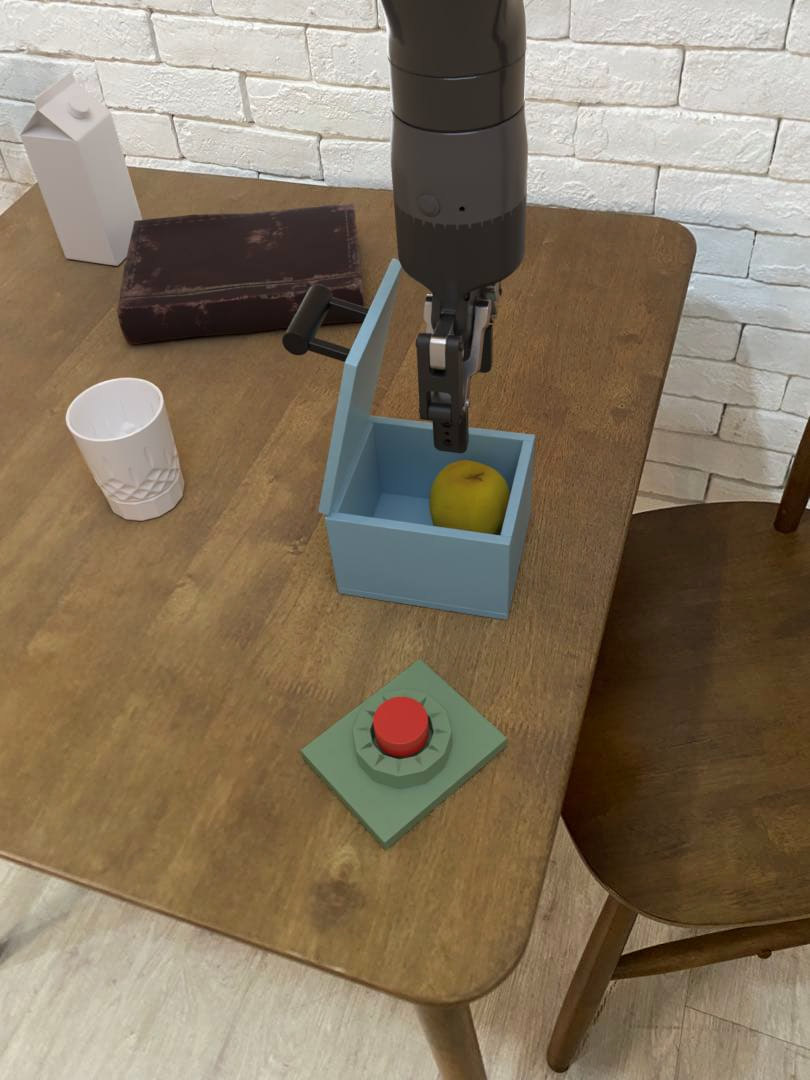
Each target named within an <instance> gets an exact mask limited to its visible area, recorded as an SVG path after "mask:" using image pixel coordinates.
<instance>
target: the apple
mask: <svg viewBox="0 0 810 1080" xmlns="http://www.w3.org/2000/svg"><path fill="white" fill-rule="evenodd" d="M509 498H510V491H509V487H508V485H507V483H506V481H505V479H504V478H503V476H502V475H501V474H500V473H499V472H498V471H497V470H495V469H493V468H492V467H489V466H487V465H484V464H482V463H479V462H475V461H470V460H460V461H456V462H454V463H451V464H449V465H448V466H446V467H445V468H444V469H443V470H442V471H441V472H440V473H439V474H438V475H437V477H436V478H435V480H434V482H433V485H432V488H431V492H430V499H429V508H430V514H431V519H432V522H433V525H434V526H437V527H444V528H451V529H458V530H465V531H472V532H479V533H486V534H493V535H499V534H500V533H501V531H502V527H503V523H504V519H505V515H506V511H507V506H508V502H509Z"/></svg>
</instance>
